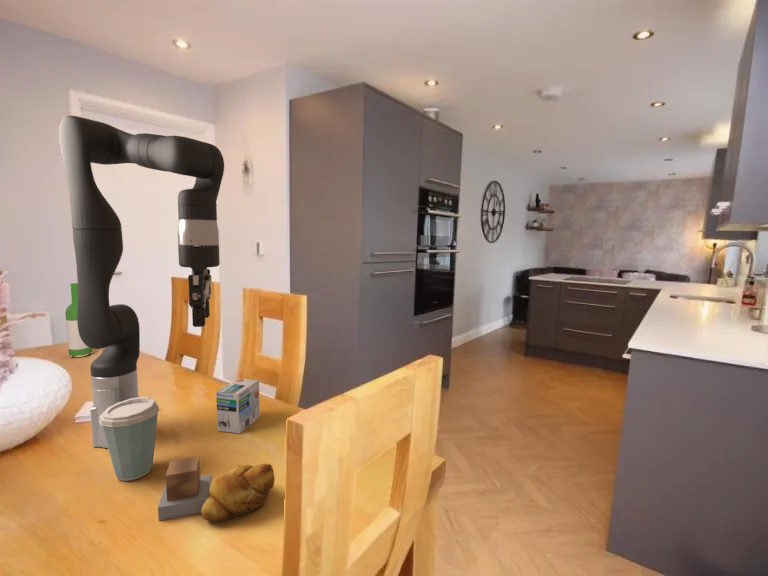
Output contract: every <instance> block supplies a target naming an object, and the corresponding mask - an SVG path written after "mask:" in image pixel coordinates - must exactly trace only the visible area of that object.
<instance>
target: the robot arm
mask: <svg viewBox="0 0 768 576" xmlns="http://www.w3.org/2000/svg"><path fill="white" fill-rule="evenodd" d="M58 140H59V141H58V142H59V148H60V153H61V157H62V163H63V169H64V174H65V178H66V183H67V188H68V194H69V203H70V204H69V205H70V214H71V228H72V229H71V230H72V240H73V248H74V252H75V264H76V278H77V279H76V280H77V283H78V307H77V324H78V331H79V335H80V338H81V340H82V341H83V343H84V344H85V345H86V346H88V347H90V348H92V350H98V349H100V350H101V349H103V351H102V352H101V354H99V356H98V357H96V358H95V359H94V360H93V361H92V362H91V364H90V366H89V368H90V378H91V379H90V380H91V392H92V394H91V395H92V402H93V404H92V406H91V407H90V410H89V411H90V425H91V426H90V427H91V437H92V447H93V448H97V447H98V448H104V449H106V448H107V449H108V446H107V443H106V439H105V436H104V432H103V429H102V425H101V424H100V422H99V417H100V415H102V413H103V412H104V411H105V410H106V409H107V408H108V407H110V406H112V405H114V404H116V403H118V402H122V401H125V400H128V399H131V398H138V397H140V395H139V384H138V383H139V382H138V369H137V368H138V367H137V365H138V364H137V363H138V360H139V357H140V352H141V351H140V345H141V344H140V341H141V340H140V322H139V317H138V315H137V313H136V312H135V310H134V309H133V308H132V307H131V306H129V305H127V304H120V303H119V304H111V305H110V295H109V294H110V286H111V281H112V279H113V276H114V274H115V272H116V270H117V268H118V266H119V263H120V262H121V258H122V256H123V253H124V242H123V230H122V229H123V227H122V222H121V220H120V218H119V216H118V214H117V213H116V212H115V210H114V208H113V207H112V206H111V204H110V203H109V201H107V199H106V198H105V196H104V195H103V193H102V192H101V191H100V189H99V186H97V183H96V180H95V178H94V174H93V169H92V164H98V165H104V166H105V165H107V166H108V165H120V164H135V165H137V166H138V167H139V166H140V167H143V168H146V169H151V170H156V171H161V172H169V173H173V174H176V175H182V176H187V177H193V178H195V182H194V185H193V187H192V188H186V189H182V190H180V191H179V192H178V194H177V211H178V212H177V213H178V214H177V215H178V225H177V249H178V253H177V254H178V265H179V266H180V267H182V268H190V269H191V274H188V276H187V283H188V299H189V301H188V305H189V307H190V308H191V315H192V317H191V318H192V326H193V327H194V328H203V327H205V325H206V319H209V317H210V316H211V315H210V313H211V312H210V300H211V294H212V280H213V279H212V278H213V277H212V275H211V270H210V268H217V267H219V266H220V264H221V261H220V234H219V232H220V231H219V225H218V209H217V207H218V206H217V200H218V197H219V194H220V193H219V192H220V189H221V184H222V181H223V176H224V173H225V160H224V156H223V153H222V152H221V150H220V149H219V148H218V147H217V146H216V145H215V144H213V143H208V142H206V141H205V142H204V141H202V140H198V139H193V138H191V137H188V136H180V135H163V134H157V133H156V134H154V133H149V132H148V133H146V132H145V133H144V132H143V133H141V132H140V133H136V134H133V133H129V132H127V131H124V130H121V129H120V128H117V127H115V126H112V125H111V124H109V123H105V122H103V121H97V120H94V119H90V118H85V117H82V116H77V115H66V116H65V117H63V118H62V119H61V122H60V124H59V129H58Z"/></svg>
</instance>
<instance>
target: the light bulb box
mask: <svg viewBox="0 0 768 576" xmlns="http://www.w3.org/2000/svg"><path fill="white" fill-rule="evenodd" d="M215 394H216V395H215V396H216V398H215V399H216V423H217V431H218V432H225V433H234V434H241V433H242V432H244V431H245V430H246V429H247V428H248V427H250V426H251V425H252V424H253V423H255V421H257V420H258V419H259V418H260V416H261V415H260V414H261V413H260V412H261V411H260V381H259V380H258V379H257V380H255V379H246V378H236V379H235V380H233V381H231V382H230V383H228V384H227V385H224V386H223V387H221V388H220V389H218V390H217V391H216V392H215Z"/></svg>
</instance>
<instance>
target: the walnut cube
mask: <svg viewBox="0 0 768 576" xmlns="http://www.w3.org/2000/svg"><path fill="white" fill-rule="evenodd" d="M200 463H201V462H200V456H195V457H193V456H192V457H186V458H182V459H175V460H173V459H172V460H170V462H169V465H168V468H167V470H166V473H165V484H166V491H167V501H172V500H177V499H183V498H189V497H194V496H197V495H198V490H199V485H200V476H201V468H200V467H201V466H200Z"/></svg>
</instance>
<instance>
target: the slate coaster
mask: <svg viewBox="0 0 768 576" xmlns="http://www.w3.org/2000/svg"><path fill="white" fill-rule="evenodd" d="M211 483H212V474H205V475H200V485H199V490H198V495H197V496H194V497H189V498H183V499H177V500H172V501H167V491H166V483H165V485H164V487H163V491H162V493H161V494H162V495H161V497H160V500H159V503H158V506H157V514H158V521H164V520H170V519H174V518H180V517H185V516H192V515H195V514H202V513H201V510H202V507H203V504H204V503H205V501H206V500H207V499H208V498H209V488H210V485H211Z"/></svg>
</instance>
